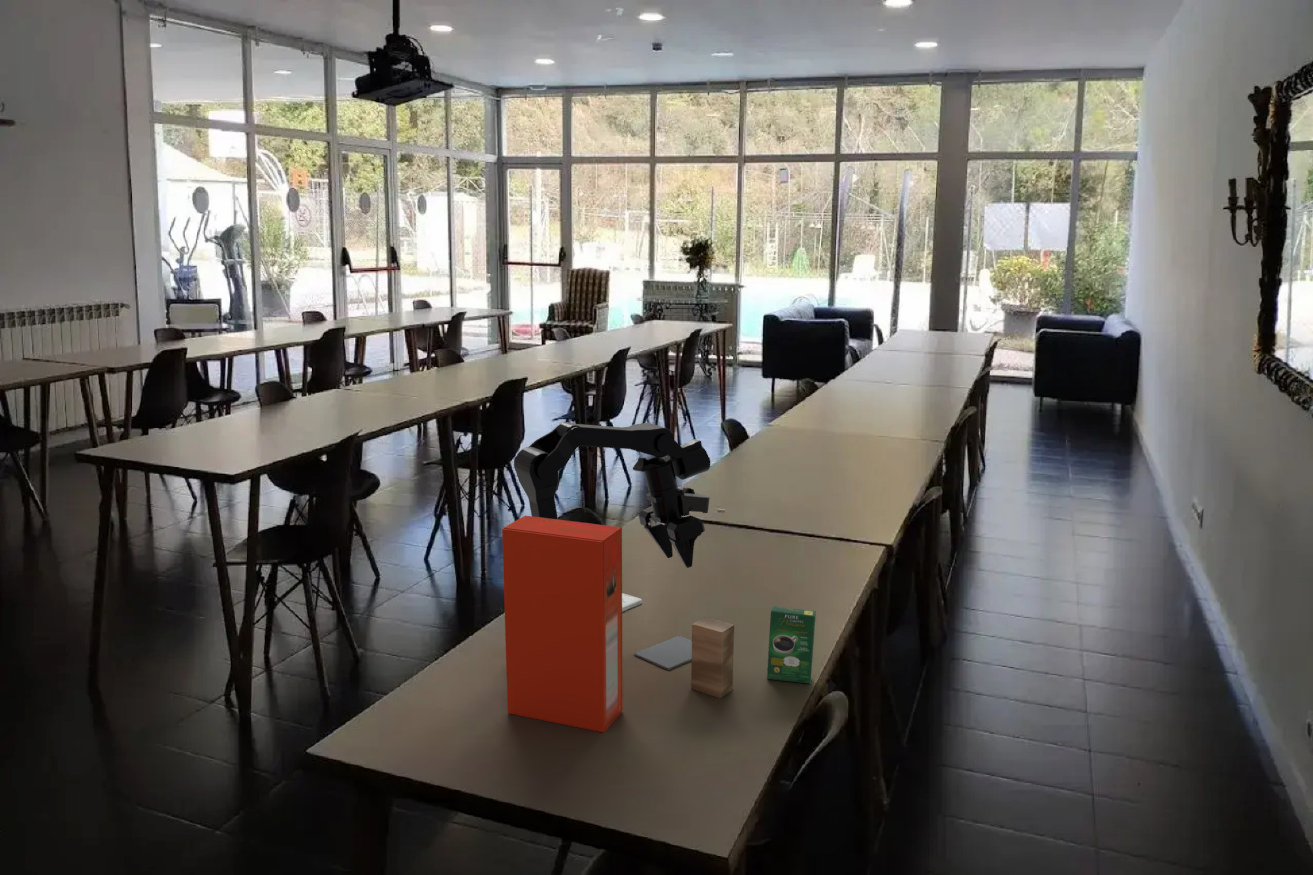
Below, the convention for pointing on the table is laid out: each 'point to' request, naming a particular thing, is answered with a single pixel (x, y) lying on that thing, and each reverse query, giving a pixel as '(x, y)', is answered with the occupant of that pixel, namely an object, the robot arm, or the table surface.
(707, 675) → the tall wooden block tower
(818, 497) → the table surface
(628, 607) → the external hard drive
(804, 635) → the coffee box
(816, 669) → the table surface
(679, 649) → the mat
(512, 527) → the file binder
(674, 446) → the robot arm
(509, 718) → the table surface
